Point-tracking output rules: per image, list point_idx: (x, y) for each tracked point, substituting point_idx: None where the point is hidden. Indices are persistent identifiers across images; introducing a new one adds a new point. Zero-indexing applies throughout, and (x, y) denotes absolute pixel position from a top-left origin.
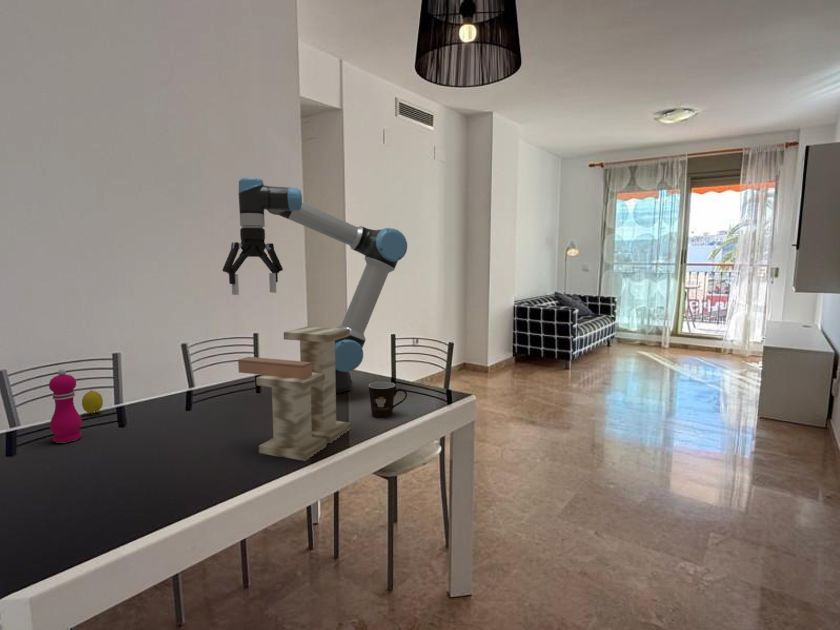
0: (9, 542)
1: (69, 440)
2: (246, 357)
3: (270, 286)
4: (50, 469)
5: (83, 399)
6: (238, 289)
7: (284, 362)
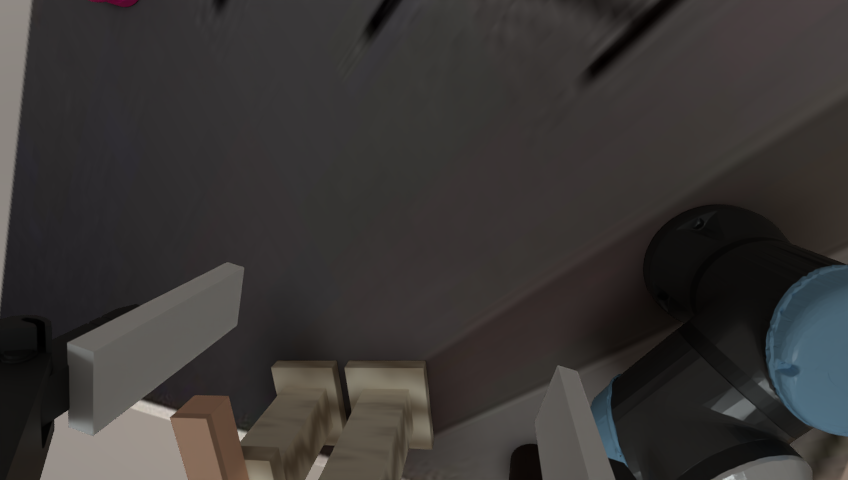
0: (3, 278)
1: (114, 4)
2: (197, 420)
3: (560, 412)
4: (68, 114)
5: None
6: (210, 344)
7: None
